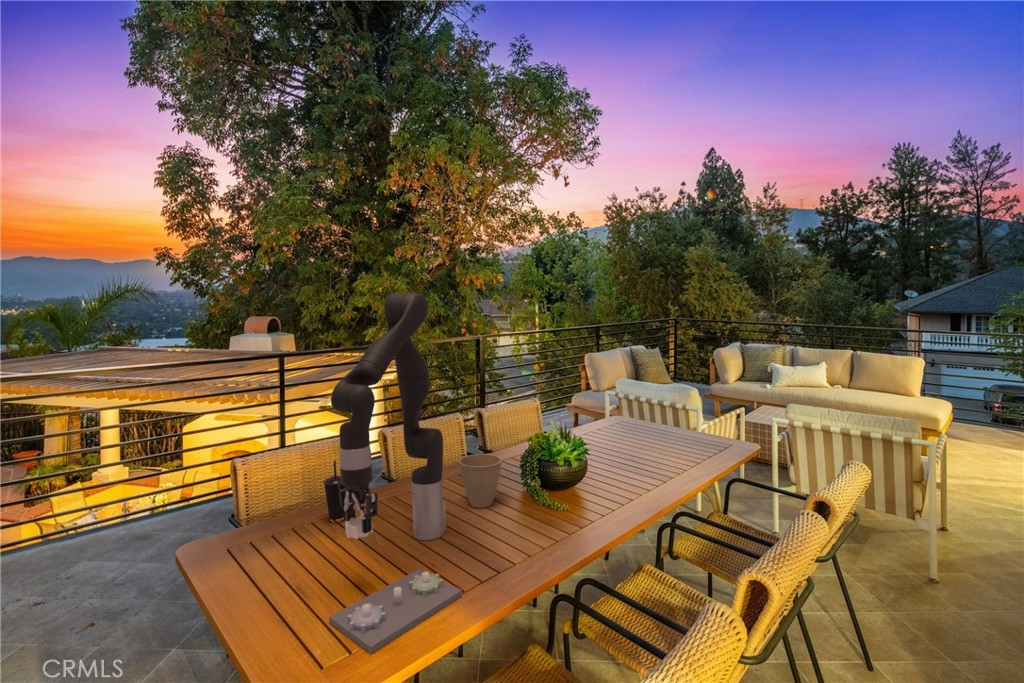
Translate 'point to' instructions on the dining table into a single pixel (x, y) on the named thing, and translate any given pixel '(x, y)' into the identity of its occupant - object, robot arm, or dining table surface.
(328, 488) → the drinking cup
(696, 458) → the dining table surface
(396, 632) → the gear board
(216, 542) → the dining table surface
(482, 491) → the plant pot
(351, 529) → the gear
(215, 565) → the dining table surface
